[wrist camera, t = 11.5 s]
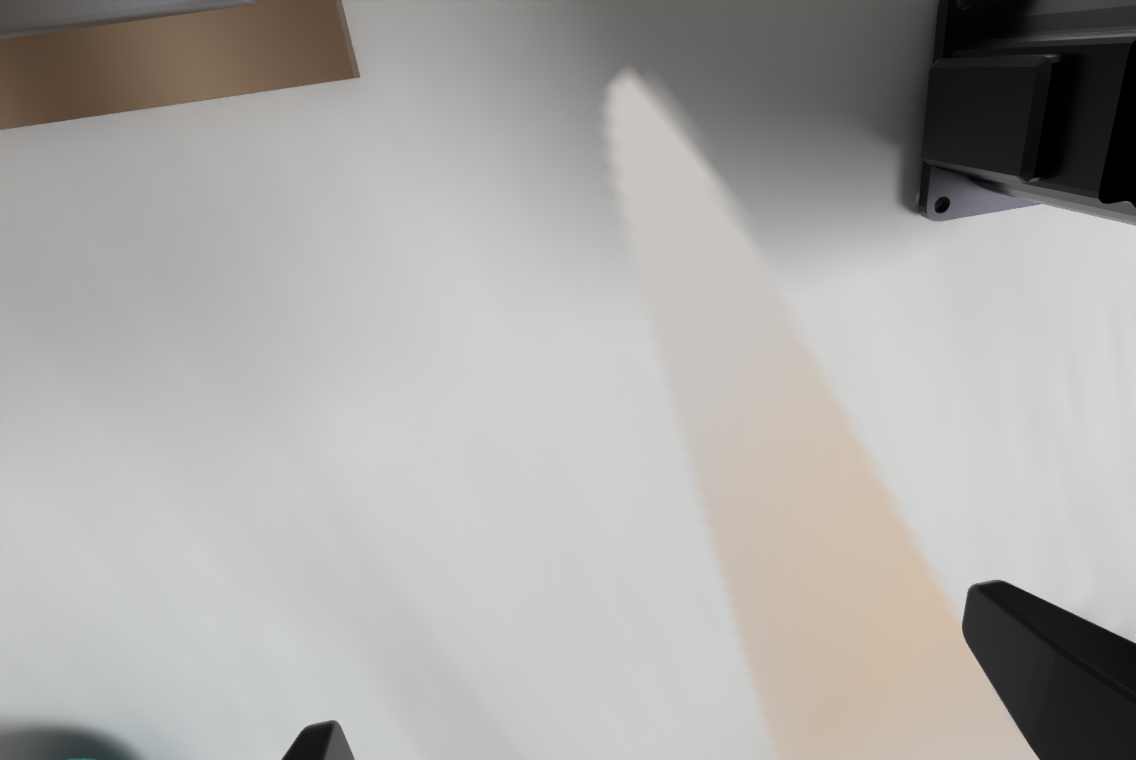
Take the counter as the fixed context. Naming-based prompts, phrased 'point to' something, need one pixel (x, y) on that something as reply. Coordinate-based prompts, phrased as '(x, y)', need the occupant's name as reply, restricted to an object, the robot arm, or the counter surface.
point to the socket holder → (161, 53)
